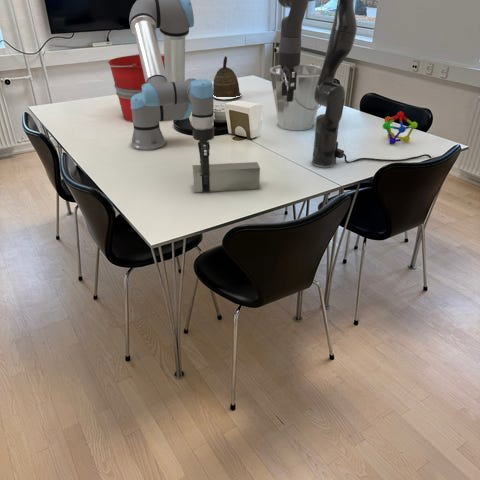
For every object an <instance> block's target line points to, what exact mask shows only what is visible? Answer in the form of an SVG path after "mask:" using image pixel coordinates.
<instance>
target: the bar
mask: <svg viewBox="0 0 480 480" xmlns="http://www.w3.org/2000/svg"><path fill="white" fill-rule="evenodd" d="M209 173H210V176H209V181H210V191H209V192H228V191H229V192H230V191H245V190H246V191H248V190H260V176H261V167H260V165H259V162H257V161H251V162H250V161H249V162H248V161H247V162H231V163H230V162H229V163H209ZM200 174H202V165H201V164H192V183H193V193H203V192H202V176H200ZM209 192H208V193H209Z"/></svg>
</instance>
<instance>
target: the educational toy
mask: <svg viewBox="0 0 480 480" xmlns="http://www.w3.org/2000/svg"><path fill="white" fill-rule="evenodd" d="M397 119H399V124H400V125H399V127H398V126H393V125H391V124H392V123H394V122H395V121H396V120H397ZM403 120H404V121H405V122H407V123H408V124H409V125H407V126H404V123H403ZM417 127H418V122H417V121H411V120H410V119H409V118H408V117H406V116H405V113H404V112H403V111H401V110H400V111H398V112H397V114H396V115H394V116H391V117H390V116H386V117H385V118H384V122H383V123H382V129H383V130H386V132H387V138H388V142H389V145H395V144H396V143H397V142H402V141H403V142H404V143H409V142H410V140H411V138H410V136H411V134H412V132H413V131H414V130H415V129H417ZM392 129H393V130H397V131H398V132H396V134H395V133H394V132H392ZM408 129H409V131H408V133H407V134H406V135H404V136H401V134H403V133H405V132H406V130H408ZM399 135H400V136H399Z"/></svg>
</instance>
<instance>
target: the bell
mask: <svg viewBox="0 0 480 480" xmlns="http://www.w3.org/2000/svg"><path fill="white" fill-rule="evenodd" d="M227 63H228V57H227V56H224V58H223V63H222V67H221V68H219V69H218V70H217V71H216V73H215V75H214V78H213V81H212V84H213V91H214V93H213V95H214V96H216V97H236V96H240V95H241V96H242V93H241V92H240V83H239V80H238V79H239V78H238V77H237V75H236V73H235V72H234V70H232V69H231V68H230V67H227Z"/></svg>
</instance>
